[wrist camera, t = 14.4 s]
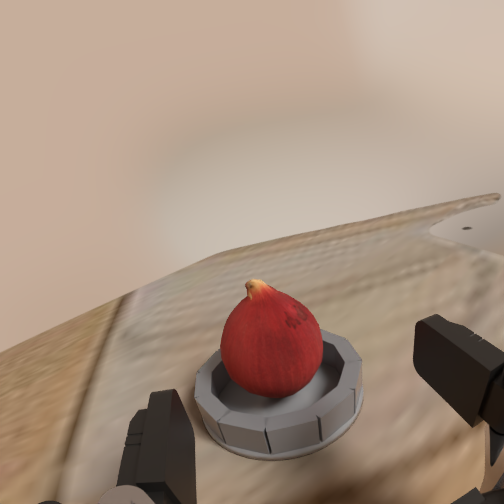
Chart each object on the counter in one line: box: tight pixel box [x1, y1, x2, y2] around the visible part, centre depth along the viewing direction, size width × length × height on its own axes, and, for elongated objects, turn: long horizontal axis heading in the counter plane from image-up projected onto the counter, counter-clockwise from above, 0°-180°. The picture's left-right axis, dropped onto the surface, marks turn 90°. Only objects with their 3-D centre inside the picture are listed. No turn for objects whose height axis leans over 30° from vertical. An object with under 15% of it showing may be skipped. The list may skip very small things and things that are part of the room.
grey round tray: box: [194, 329, 363, 461], centre depth 18 cm, size 10×10×2 cm
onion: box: [220, 279, 323, 398], centre depth 17 cm, size 6×6×8 cm
